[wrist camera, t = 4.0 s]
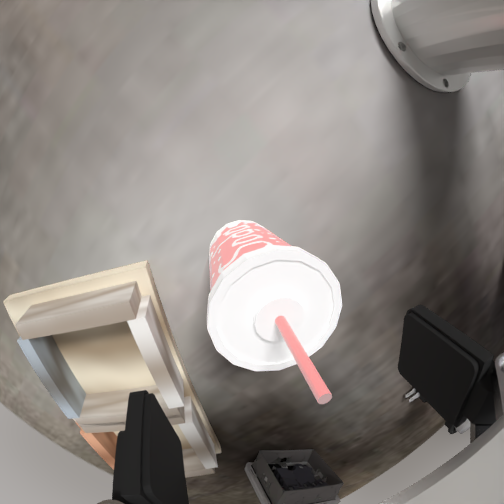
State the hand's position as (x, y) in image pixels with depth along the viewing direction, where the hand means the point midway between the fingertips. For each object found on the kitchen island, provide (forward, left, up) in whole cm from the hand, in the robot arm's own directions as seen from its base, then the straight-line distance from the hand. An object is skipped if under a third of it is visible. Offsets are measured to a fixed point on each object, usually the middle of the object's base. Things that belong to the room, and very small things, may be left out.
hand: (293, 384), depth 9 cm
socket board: (+10, -12, -13) cm, 20 cm away
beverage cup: (0, +1, -13) cm, 13 cm away
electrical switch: (+27, +1, -13) cm, 29 cm away
